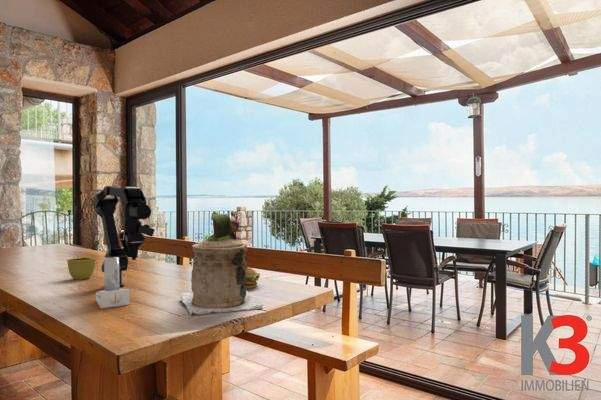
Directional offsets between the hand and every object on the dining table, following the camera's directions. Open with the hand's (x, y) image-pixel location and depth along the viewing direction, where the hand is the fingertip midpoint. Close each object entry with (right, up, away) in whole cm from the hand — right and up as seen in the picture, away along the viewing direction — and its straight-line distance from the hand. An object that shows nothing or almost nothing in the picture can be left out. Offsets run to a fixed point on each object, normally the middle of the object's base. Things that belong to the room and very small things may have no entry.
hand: (131, 258), depth 163 cm
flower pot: (-34, -13, +27) cm, 45 cm away
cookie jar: (+38, -13, -19) cm, 45 cm away
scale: (0, -13, -17) cm, 21 cm away
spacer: (0, -9, -16) cm, 19 cm away
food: (+43, -13, +9) cm, 46 cm away
